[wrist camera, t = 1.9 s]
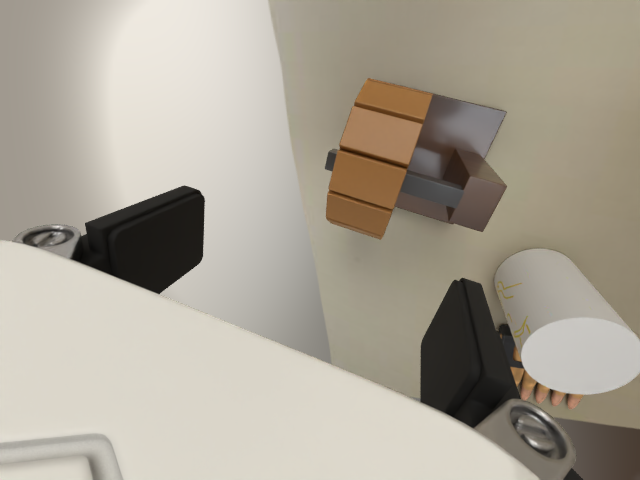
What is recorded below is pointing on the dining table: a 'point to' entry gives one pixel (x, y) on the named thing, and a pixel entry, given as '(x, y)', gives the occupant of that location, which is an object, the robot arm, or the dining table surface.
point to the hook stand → (452, 165)
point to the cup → (564, 325)
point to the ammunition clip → (528, 381)
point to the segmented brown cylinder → (375, 156)
